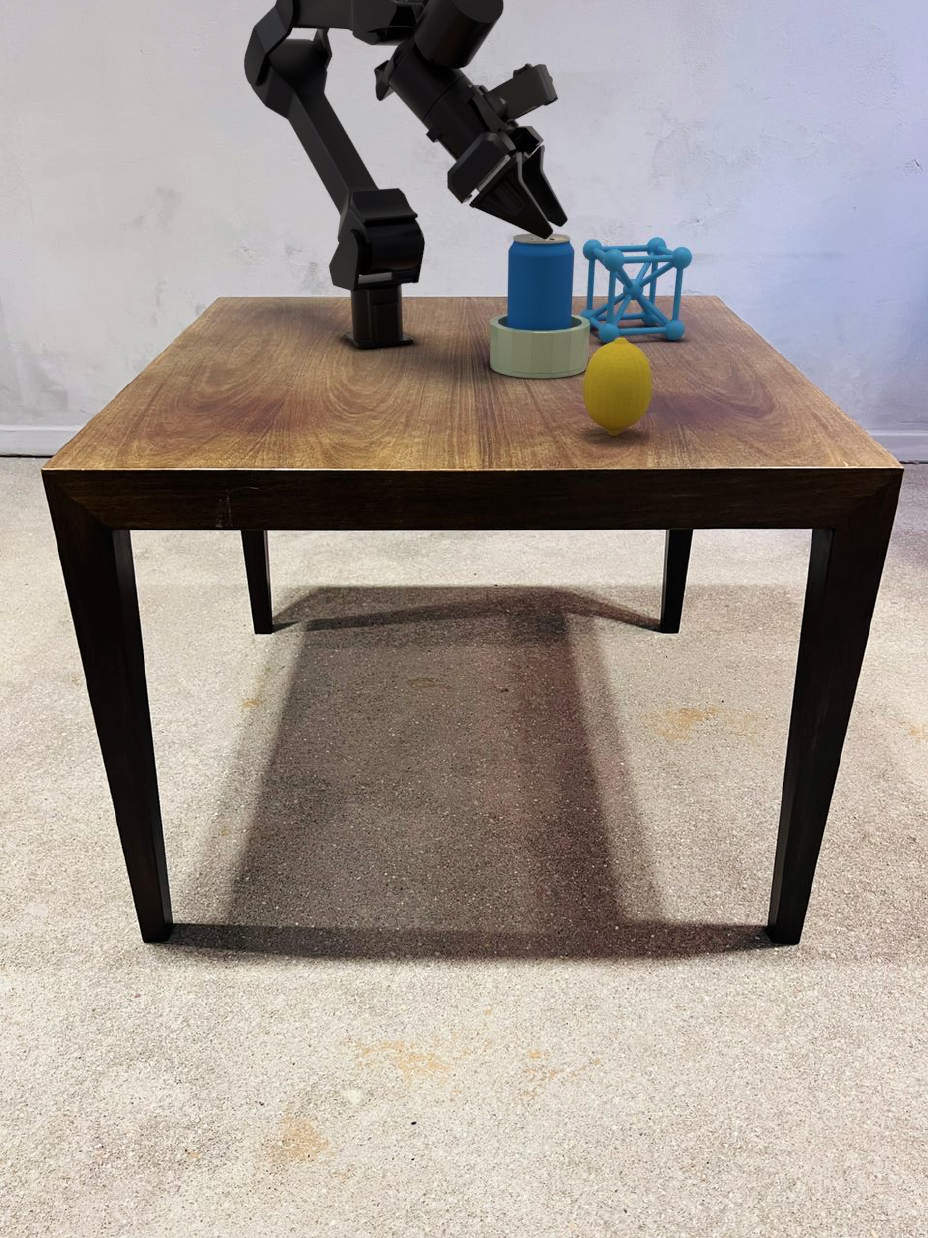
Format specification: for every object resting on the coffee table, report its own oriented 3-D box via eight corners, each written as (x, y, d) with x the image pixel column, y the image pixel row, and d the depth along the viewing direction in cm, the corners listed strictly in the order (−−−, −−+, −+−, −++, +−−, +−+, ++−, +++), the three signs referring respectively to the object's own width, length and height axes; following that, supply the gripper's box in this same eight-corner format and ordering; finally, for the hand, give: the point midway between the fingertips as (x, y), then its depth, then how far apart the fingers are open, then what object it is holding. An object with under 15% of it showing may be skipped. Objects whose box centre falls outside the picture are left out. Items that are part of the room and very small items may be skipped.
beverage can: (573, 354, 103) (579, 233, 98) (564, 370, 98) (570, 242, 92) (512, 351, 105) (514, 231, 99) (501, 366, 99) (502, 240, 93)
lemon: (605, 450, 78) (612, 348, 74) (567, 431, 82) (572, 334, 78) (661, 439, 80) (671, 340, 76) (621, 421, 85) (628, 326, 81)
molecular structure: (686, 341, 110) (696, 247, 106) (601, 346, 109) (607, 250, 104) (655, 323, 119) (663, 235, 114) (575, 326, 117) (580, 237, 113)
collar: (475, 359, 104) (475, 315, 102) (560, 350, 107) (561, 308, 105) (514, 382, 96) (515, 335, 94) (604, 372, 99) (607, 327, 97)
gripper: (482, 22, 80) (610, 172, 83) (524, 33, 96) (630, 158, 99) (394, 130, 85) (516, 267, 88) (447, 123, 101) (549, 239, 104)
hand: (557, 229), depth 95 cm, fingers open, 9 cm apart
